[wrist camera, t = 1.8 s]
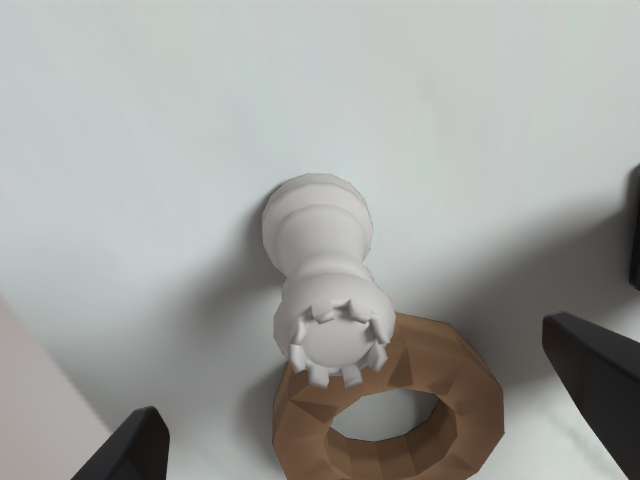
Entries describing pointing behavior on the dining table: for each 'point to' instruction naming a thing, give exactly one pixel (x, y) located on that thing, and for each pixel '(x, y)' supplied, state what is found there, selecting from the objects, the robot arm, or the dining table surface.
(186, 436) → the dining table surface
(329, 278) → the rook chess piece
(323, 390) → the walnut bead ring
